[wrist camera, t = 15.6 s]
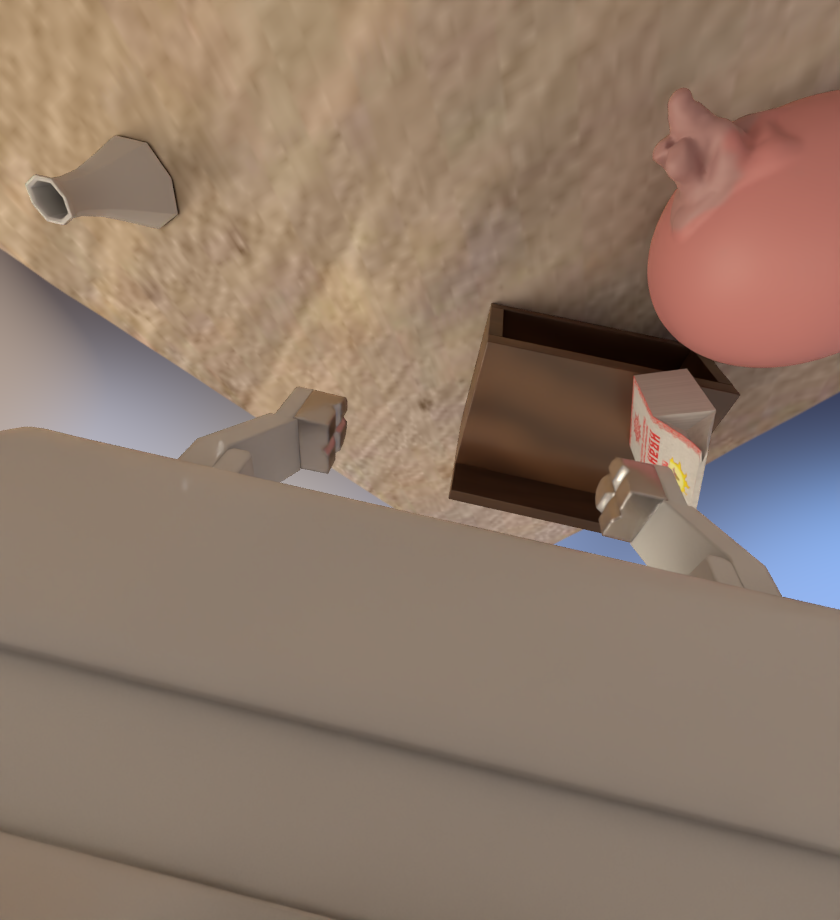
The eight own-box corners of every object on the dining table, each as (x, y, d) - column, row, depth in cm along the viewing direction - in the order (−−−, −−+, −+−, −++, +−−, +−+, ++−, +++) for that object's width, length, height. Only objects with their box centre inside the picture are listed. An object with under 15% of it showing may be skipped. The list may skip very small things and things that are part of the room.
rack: (491, 302, 40) (484, 363, 30) (701, 346, 39) (765, 423, 29) (461, 421, 49) (448, 498, 39) (631, 458, 48) (662, 547, 38)
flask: (192, 223, 40) (116, 247, 32) (130, 233, 42) (44, 259, 34) (151, 127, 36) (53, 130, 28) (83, 142, 37) (-27, 149, 30)
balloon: (763, -42, 25) (988, -185, 13) (898, 214, 31) (1132, 272, 19) (552, 188, 34) (574, 226, 22) (690, 352, 40) (765, 451, 28)
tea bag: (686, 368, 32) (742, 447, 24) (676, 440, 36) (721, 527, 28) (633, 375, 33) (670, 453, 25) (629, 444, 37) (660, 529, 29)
